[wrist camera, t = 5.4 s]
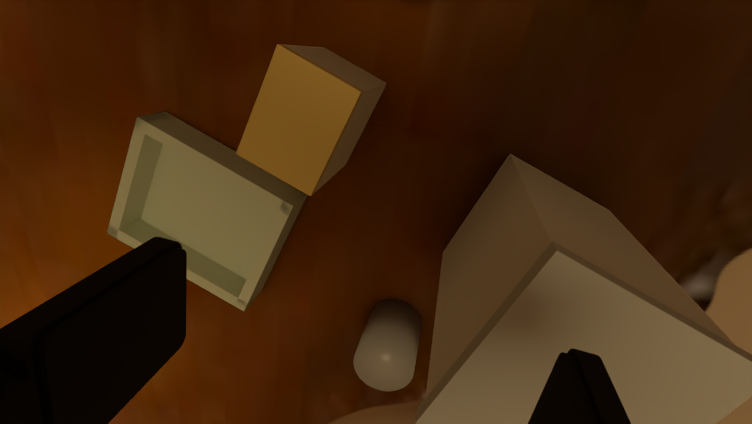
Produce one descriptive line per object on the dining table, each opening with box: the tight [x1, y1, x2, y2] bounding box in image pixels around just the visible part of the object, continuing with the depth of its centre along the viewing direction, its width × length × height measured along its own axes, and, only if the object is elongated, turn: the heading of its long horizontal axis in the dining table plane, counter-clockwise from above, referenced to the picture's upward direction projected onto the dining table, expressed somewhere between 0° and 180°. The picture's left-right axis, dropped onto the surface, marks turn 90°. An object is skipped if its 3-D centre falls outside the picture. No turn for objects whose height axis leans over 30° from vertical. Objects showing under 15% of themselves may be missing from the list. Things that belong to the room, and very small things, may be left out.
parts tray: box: [107, 112, 307, 311], centre depth 30 cm, size 12×10×3 cm
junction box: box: [416, 154, 752, 424], centre depth 21 cm, size 8×8×15 cm
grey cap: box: [354, 299, 421, 391], centre depth 29 cm, size 4×4×5 cm
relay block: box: [236, 44, 387, 197], centre depth 24 cm, size 4×6×7 cm
